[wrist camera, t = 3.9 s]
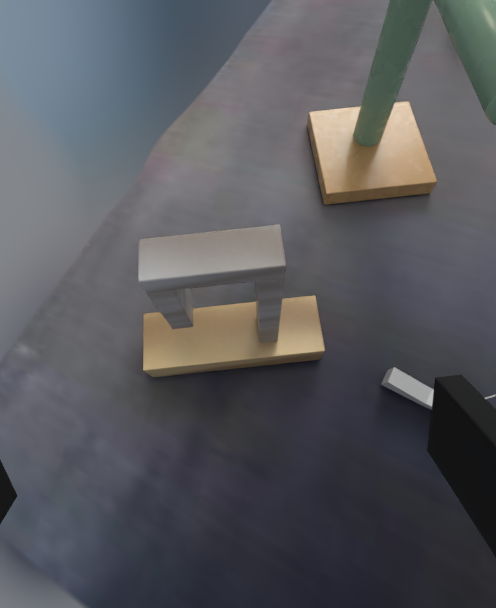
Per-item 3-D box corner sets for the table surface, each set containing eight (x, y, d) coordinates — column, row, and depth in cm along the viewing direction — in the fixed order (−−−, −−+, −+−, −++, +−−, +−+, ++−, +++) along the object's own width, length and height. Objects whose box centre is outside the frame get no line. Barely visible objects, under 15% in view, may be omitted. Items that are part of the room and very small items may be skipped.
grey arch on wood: (320, 359, 27) (366, 280, 15) (152, 377, 27) (60, 313, 15) (311, 307, 29) (346, 196, 16) (152, 324, 29) (68, 226, 16)
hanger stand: (457, 273, 29) (685, 57, 13) (340, 286, 29) (430, 85, 13) (403, 114, 35) (515, -162, 19) (306, 125, 35) (340, -143, 19)
